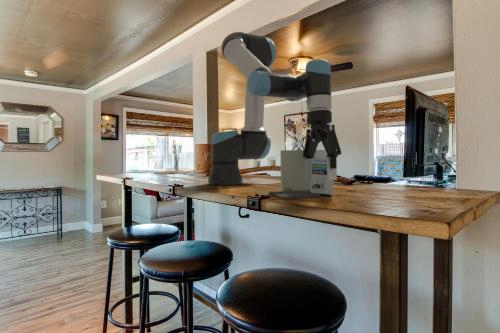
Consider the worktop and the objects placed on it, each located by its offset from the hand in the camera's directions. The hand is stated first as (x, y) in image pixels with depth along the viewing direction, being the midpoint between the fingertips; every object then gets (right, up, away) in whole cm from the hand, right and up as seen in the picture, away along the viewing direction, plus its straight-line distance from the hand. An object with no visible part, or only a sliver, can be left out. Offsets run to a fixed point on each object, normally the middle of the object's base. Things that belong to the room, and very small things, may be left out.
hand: (320, 179), depth 91 cm
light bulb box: (0, -4, 0) cm, 5 cm away
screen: (-3, -4, +11) cm, 12 cm away
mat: (-9, -5, -2) cm, 10 cm away
